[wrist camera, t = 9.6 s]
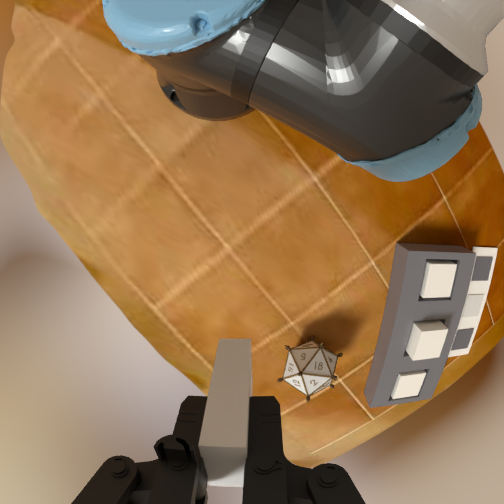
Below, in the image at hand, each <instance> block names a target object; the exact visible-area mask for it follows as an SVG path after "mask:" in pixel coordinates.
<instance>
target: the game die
mask: <svg viewBox="0 0 504 504" xmlns="http://www.w3.org/2000/svg"><path fill="white" fill-rule="evenodd" d="M323 346H324V344H323V342H322V343H320V344H318V343H317V342H315V341H314V336H313V335H312V337H311V341H309V342H307V343H304V344H302V345H299V346H296V347H294V348H291V349H290V347H289V346H286V345H285V348H286V349H287V350H289V352H288V356H287V361H286V365H285V369H284V374H283V378H280V379H279V378H278V380H277V382H282V380H284V381H285V382H287V383H288V384H290V385H291V386H293V387H294V388H296V389H297V390H299V391H300V392H302V393H303V394H305V395H306V396H307V397H306V398H307V399H306V400H307V402H309V400H310V396H311V395H313V394H314V393H316V392H318V391H320V390H322V389H324V388H326V387H328V386H330V387H331V388H334V385H333V384H331V383H332V379H334V380H337V376H334V372H335V368H336V363H337V359H338V357H342V355H343V353H340V354H338V355H336V354H334V353H333V352H331V351H330V350H328V349H326V348H325V347H323Z"/></svg>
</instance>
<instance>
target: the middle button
mask: <svg viewBox="0 0 504 504" xmlns="http://www.w3.org/2000/svg"><path fill="white" fill-rule="evenodd" d="M447 332H448V328H447V327H446V326H445V325H444V324H443V323H442V322H441V321H440V320H427V321H413V324H412V328H411V331H410V335H409V339H408V342H407V346H406V349H405V350H406V352H407V353H408V354H409V356H410V357H411V359H412V360H413V361H414V360H422V359H430V358H437V357H439V356H440V353H441V350H442V348H443V345H444V342H445V338H446V335H447Z"/></svg>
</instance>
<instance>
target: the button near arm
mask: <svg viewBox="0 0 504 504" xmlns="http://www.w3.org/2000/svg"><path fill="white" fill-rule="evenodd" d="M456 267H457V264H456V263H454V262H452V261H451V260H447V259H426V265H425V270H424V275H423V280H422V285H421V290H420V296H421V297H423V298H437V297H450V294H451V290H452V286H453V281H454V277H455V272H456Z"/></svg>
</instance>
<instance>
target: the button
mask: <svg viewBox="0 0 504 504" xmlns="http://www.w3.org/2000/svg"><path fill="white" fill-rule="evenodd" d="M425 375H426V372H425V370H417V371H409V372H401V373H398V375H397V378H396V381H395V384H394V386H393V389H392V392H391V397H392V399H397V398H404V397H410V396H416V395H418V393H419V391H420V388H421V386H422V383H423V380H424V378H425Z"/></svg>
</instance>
